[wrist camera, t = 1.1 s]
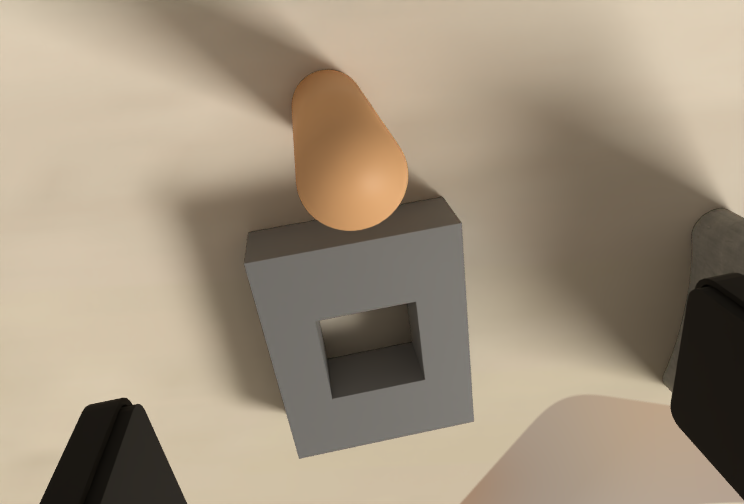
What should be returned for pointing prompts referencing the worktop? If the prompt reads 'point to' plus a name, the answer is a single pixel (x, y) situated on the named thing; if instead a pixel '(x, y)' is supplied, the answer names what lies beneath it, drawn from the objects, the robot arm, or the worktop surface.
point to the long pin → (344, 154)
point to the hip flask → (711, 260)
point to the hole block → (359, 294)
